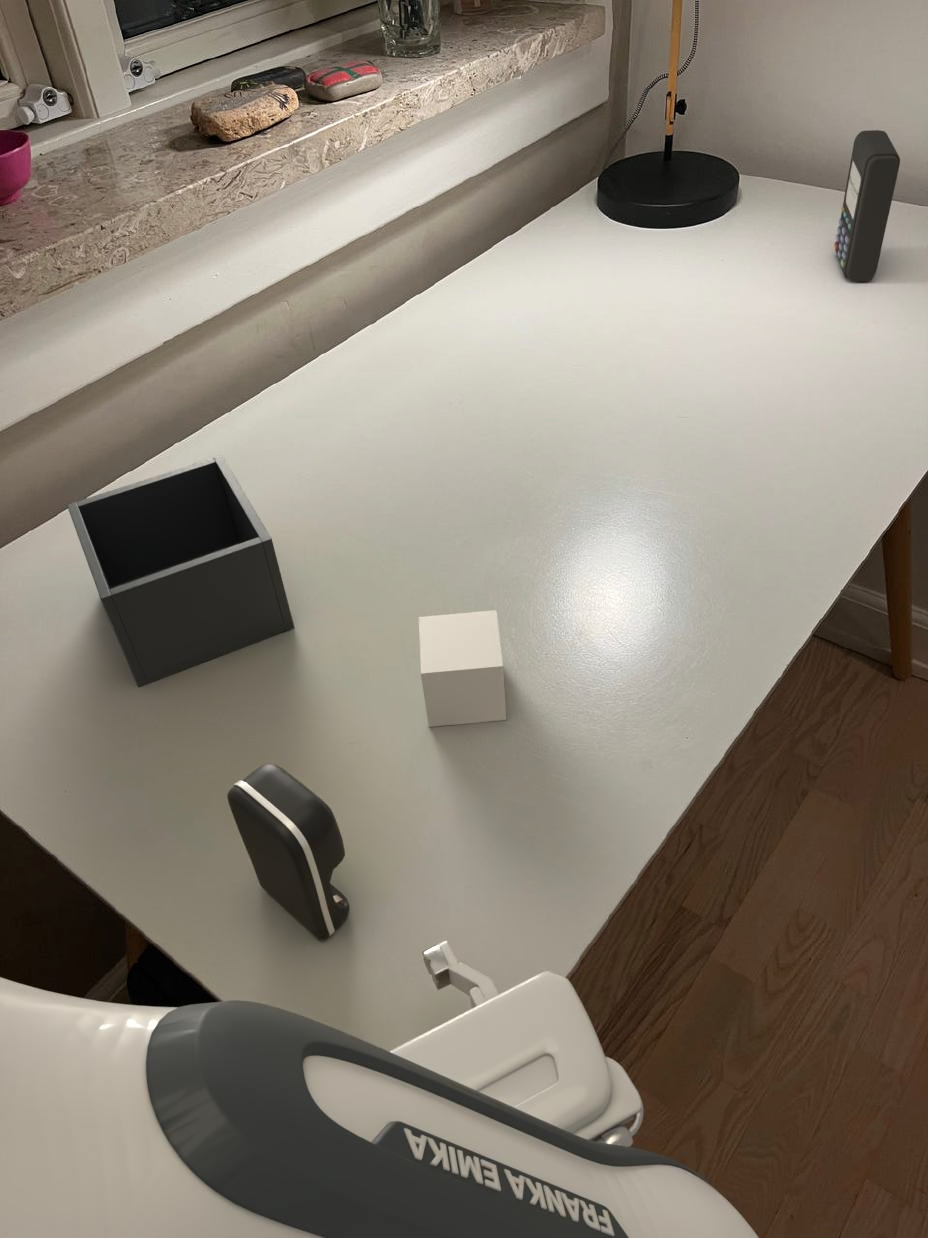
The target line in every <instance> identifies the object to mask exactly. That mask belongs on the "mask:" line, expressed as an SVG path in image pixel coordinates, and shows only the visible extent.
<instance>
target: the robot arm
mask: <svg viewBox="0 0 928 1238" xmlns="http://www.w3.org/2000/svg"><path fill="white" fill-rule="evenodd" d="M421 953H422V957H423V963H424V966H425V968H426V970H427V972H428V974H429V975H431V978H432V982H433V984H434V986H435V987H436V989H437V991H440V990H441V989H444V988H446V987H448V986H450V985H451V986H453V987H454V988H456V989H458V990H459V991H460V992H462V993H464V994H465V995H467V996H468V997H469V999H470V1009H468V1010H466V1011H464V1012H462V1013H460V1014H458V1015H456V1016H455V1017H453V1018H451V1019H448V1020H446V1021H445V1022H443V1023H441V1024H439V1025H437V1026H435V1027H433V1028H431V1029H429V1030H427V1031H426V1032H424V1033H422V1034H420V1035H418V1036H415V1037H414V1038H412V1039H409V1040H408V1041H406V1042H403V1043H402V1044H400V1045H398V1046H397V1047H394V1048H392V1049H390V1050H386V1049H384V1048H382V1047H379V1046H377V1045H375V1044H373V1043H371V1042H368V1041H365V1040H364V1039H361V1038H358V1037H357V1036H354V1035H351V1034H350V1033H346V1032H345V1031H342V1030H339V1029H337V1028H334V1027H332V1026H330V1025H327V1024H325V1023H323V1022H320V1021H317V1020H314V1019H311V1018H309V1017H307V1016H303V1015H301V1014H298V1013H295V1012H292V1011H289V1010H286V1009H283V1008H280V1007H277V1006H272V1005H269V1004H266V1003H265V1004H264V1003H261V1002H255V1001H249V1000H237V999H235V1000H224V1001H215V1002H203V1003H193V1004H188V1005H187V1004H186V1005H182V1006H178V1007H177V1006H176V1007H175V1006H170V1007H169V1006H150V1005H137V1004H125V1003H116V1002H109V1001H108V1002H107V1001H99V1000H94V999H89V998H83V997H78V996H73V995H68V994H64V993H58V992H54V991H49V990H45V989H42V988H38V987H34V986H31V985H27V984H24V983H19V982H17V981H13V980H10V979H7V978H5V977H1V976H0V1238H759V1236H758V1235H757V1233H756V1232H755V1230H754V1229H753V1227H752V1226H751V1225H750V1224H749V1223H748V1222H747V1220H746V1219H745V1217H743V1215H742V1214H741V1213H740V1212H739V1210H737V1208H735V1206H733V1204H732V1203H731V1202H730V1201H728V1199H727V1198H726V1197H724V1196H723V1194H721V1192H720V1191H719V1190H717V1189H716V1187H714V1186H713V1185H712V1184H711V1183H710V1182H709V1181H708V1180H707V1179H705V1178H704V1177H703V1176H702V1175H700V1174H699V1173H698V1172H696V1171H695V1170H693V1169H692V1168H691V1167H689V1166H688V1165H686V1164H684V1163H682V1162H680V1161H678V1160H676V1159H672V1158H670V1157H667V1156H666V1155H662V1154H660V1153H659V1154H658V1153H656V1152H652V1151H649V1150H644V1149H640V1148H638V1147H637V1148H636V1147H631V1146H632V1145H634V1139H633V1137H634V1136H635V1135H636V1134H637V1132H638V1131H639V1129H640V1128H641V1126H642V1123H643V1119H644V1102H643V1099H642V1097H641V1094H640V1092H639V1090H638V1089H637V1087H636V1086H635V1084H634V1082H633V1081H632V1079H631V1078H630V1076H629V1074H628V1073H627V1071H626V1069H624V1067H623V1066H622V1065H621V1064H620V1063H619V1062H618V1061H616V1060H614V1059H613V1058H611V1057H608V1056H606V1055H605V1052H604V1050H603V1046H602V1044H601V1042H600V1040H599V1037H598V1034H597V1032H596V1030H595V1028H594V1025H593V1022H592V1021H591V1019H590V1017H589V1014H588V1012H587V1010H586V1009H585V1006H584V1004H583V1002H582V1000H581V998H580V997H579V995H578V992H577V991H576V989H575V987H574V986H573V984H572V983H571V981H570V980H569V979H568V978H566V977H565V976H562V975H559V974H557V973H555V972H552V971H549V970H545V971H542V972H539V973H537V974H535V975H534V976H532V977H530V978H527V979H526V980H523V981H522V982H520V983H518V984H516V985H515V986H512V987H511V988H508V989H507V990H505V991H503V992H501V993H500V992H499V991H498V989H497V986H496V985H495V983H494V981H493V979H492V978H491V977H489V976H487V975H485V974H484V973H481V972H480V971H478V970H477V969H474V968H472V967H470V966H469V965H467V964H465V963H463V962H459V960H458V959H457V957H456V955H455V953H454V952H453V949H452V948H451V946H450V944H449V942H448V941H447V939H444V940H442V941H441V942H438V943H436V944H435V945H433V946H430V947H428V948H426V949H424V950H423V951H421ZM631 1121H632V1122H631ZM629 1122H631V1124H630V1125H629V1126H628V1127H627V1126H626V1124H627V1123H629Z"/></svg>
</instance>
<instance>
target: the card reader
mask: <svg viewBox="0 0 928 1238" xmlns="http://www.w3.org/2000/svg"><path fill="white" fill-rule="evenodd" d="M852 145H853V146H852V151H851V157H850V162H849V167H848V168H849V169H848V175H847V179H846V185H845V190H844V197H843V201H842V207H841V213H840V214H841V215H840V218H839V219H838V226H837V229H836V232H837V234H836V235H835V240H836V241H835V242H834V245H833V246H834V251H835V254H836V257H837V260H838V262H839V265H840V268H841V270H842V273H843V275H844V278H845V279H846V280H847V281H848V280H849V281H850V282H869V281H871V280H872V279H874V277H875V275H876V274H877V271H878V266H879V261H880V256H881V252H882V247H883V242H884V239H885V238H884V237H885V234H886V229H887V224H888V219H889V215H890V210H891V206H892V202H893V197H894V193H895V188H896V185H897V184H896V183H897V179H898V174H899V171H900V170H899V169H900V165H901V158H900V155H899V153H898V152H897V149H896V148H895V147H894V145H893V142H892V141H891V138H890V137H889V136H888V134H887V132H886V131H885V130H879V129H872V130H862V131H860V132H859V133H858V134H857V135H856V136H855V138H854V140H853V144H852Z"/></svg>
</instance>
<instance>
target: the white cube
mask: <svg viewBox="0 0 928 1238" xmlns="http://www.w3.org/2000/svg"><path fill="white" fill-rule="evenodd" d="M498 620H499V619H498V613H497V610H496V609H493V610H492V609H491V610H482V611H472V612H471V611H470V612H459V613H449V614H438V615H437V614H435V615H427V616H426V615H425V616H418V632H419V633H418V634H419V635H418V636H419V658H420V659H419V660H420V677H421V683H422V684H421V685H422V689H423V690H422V691H423V697H424V705H425V712H426V717H427V725H428V728H434V727H444V726H455V725H466V724H476V723H490V722H499V721H507V707H506V691H505V676H504V675H505V674H504V664H503V662H504V661H503V655H502V648H501V647H502V645H501V638H500V629H499V621H498Z"/></svg>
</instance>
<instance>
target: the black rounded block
mask: <svg viewBox="0 0 928 1238" xmlns="http://www.w3.org/2000/svg"><path fill="white" fill-rule="evenodd" d="M226 798H227V802H228V806H229V808H230V811H231V814H232V817H233V819H234V822H235V825H236V827H237V830H238V832H239V835H240V837H241V840H242V842H243V846H244V847H245V851H247V854H248V857H249V859H250V862H251V864H252V867H253V870H254V872H255V876H256V877H257V880H258V883H259V886H261V888H262V889H263V890H264V891H265V892H267V894H268V895H270V896H271V897H272V898H273V899H274V900H275V902H277V903H278V904H279V905H280V906H281V907H283V908H284V909H285V910H286V911H287V912H288V913H289V914H290V915H291V916H292V917H294V918H295V919H296V921H298V922H299V923H300V924H301V925H302V926H303V927H305V929H307V930H308V931H309V932H310V933H311V934H312V935H313V936H315V937H316V938H317V939H318V940H320V941H323V940H325V939H327V938H328V937H331V936H333V934H334V933H335V932H336V930H337V929H338V927H340V926H341V925H342V924H343V922H344V921H345V920H346V918H347V916H348V915H349V913H350V902H349V900H348V899H347V897H346V896H345V895H344V894H343V893H342V892H341V891H340V890H339V889H337V888H336V887H335V885H333V884H332V883H331V880H332V875H333V872H334V870H335V869H336V868H337V867H339V865H340V864H341V862H343V860H344V858H345V856H346V851H345V850H346V849H345V845H344V839H343V837H342V832H341V830H340V827H339V825H338V822H337V819H336V816H335V815H334V813H333V811H332V809H331V807H330V806H329V805H328V804H327V803H326V802H325V801H324V800H323V799H321V797H319V796H318V795H317V794H315V792H313V791H312V790H311V789H310V788H309V787H308V786H306V785H305V784H304V783H302V782H301V781H300V780H298V779H297V777H295V776H294V775H293V774H291V773H290V772H288V771H287V770H286V769H284V768H283V767H281V766H279V765H278V764H276V763H272V762H271V763H270V762H269V763H266V764H262V765H260V766H259V767H257V768H256V769H255V770H253V771H252V772H251V773H249V774H248V775H247V776H246V777H244V778H243V779H241V780H237V782H236V783H234V784H233V785H232V787H231V788H230V789H229V790H228V792H227V795H226Z"/></svg>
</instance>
